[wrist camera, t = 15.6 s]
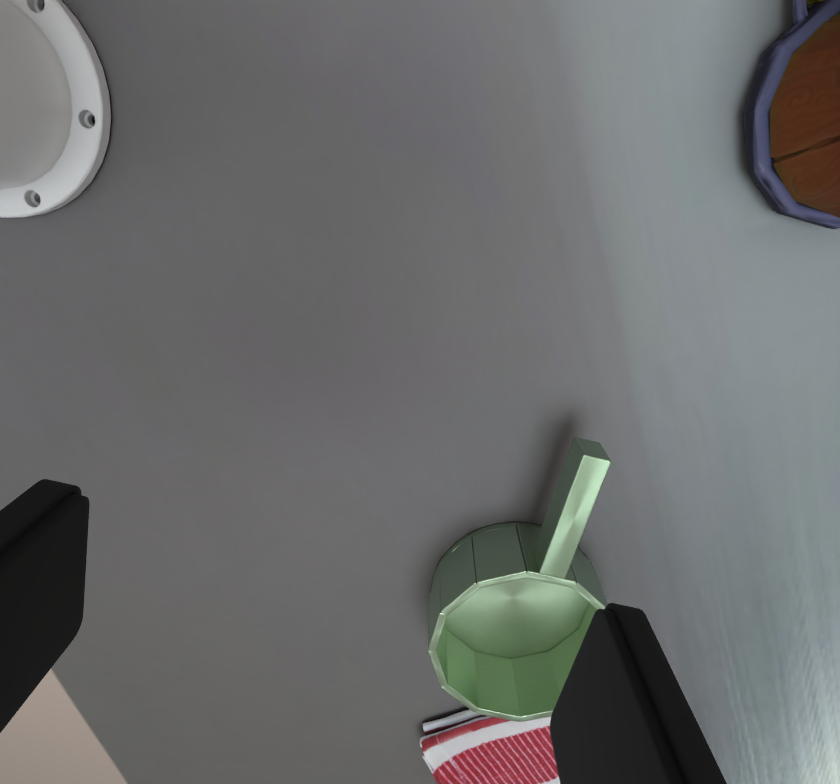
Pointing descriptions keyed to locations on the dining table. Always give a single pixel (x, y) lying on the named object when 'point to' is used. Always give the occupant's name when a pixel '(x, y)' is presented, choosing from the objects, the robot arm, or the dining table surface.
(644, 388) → the dining table surface
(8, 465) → the dining table surface
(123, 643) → the dining table surface
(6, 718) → the robot arm
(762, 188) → the mug
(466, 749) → the dish towel
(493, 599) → the green saucepan
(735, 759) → the dining table surface
